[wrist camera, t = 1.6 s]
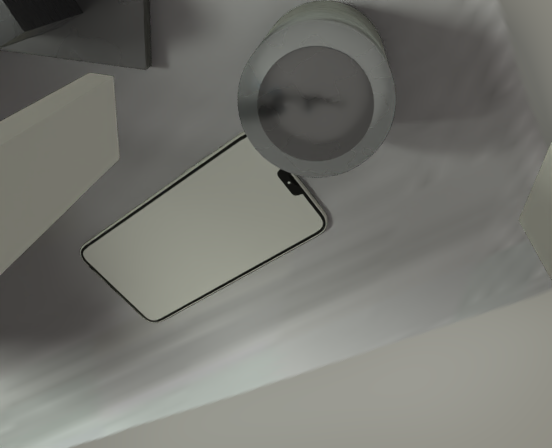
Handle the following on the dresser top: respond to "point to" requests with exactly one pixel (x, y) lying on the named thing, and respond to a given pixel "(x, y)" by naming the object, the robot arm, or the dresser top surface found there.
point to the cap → (318, 91)
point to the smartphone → (204, 231)
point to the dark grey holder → (79, 30)
